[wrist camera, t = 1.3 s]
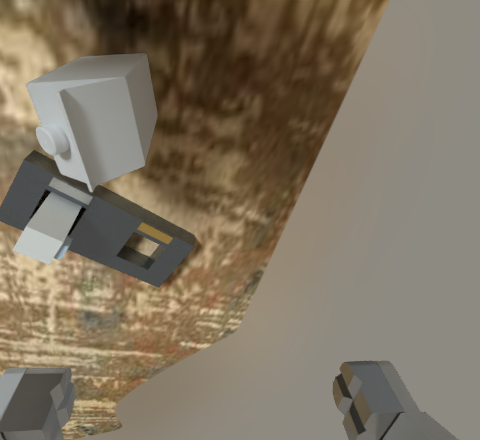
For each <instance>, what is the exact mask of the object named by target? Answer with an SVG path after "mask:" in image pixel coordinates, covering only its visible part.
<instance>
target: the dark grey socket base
mask: <svg viewBox="0 0 480 440" xmlns="http://www.w3.org/2000/svg"><path fill="white" fill-rule="evenodd" d="M47 190H49V191H51V192H53V193H55V194H57V195H59V196H61V197H63V198H65V199H67V200H69V201H71V202H73V203H75V204H77V205H79V206H82V207H84V208H85V210H84V211H83V213H82V215H81V216H80V218H79V219H78V221H77V222H76V223H73V225H72V227H71V229H70V230H69V232H68V234H67V237H69V238H72V239H73V240H72V242H71V244H70V246H69V248H68V250H70V251H73V252H75V253H77V254H80V255H82V256H85V257H87V258H89V259H92V260H94V261H97V262H99V263H101V264H104V265H106V266H109V267H111V268H113V269H116V270H118V271H120V272H123V273H125V274H128V275H130V276H132V277H135V278H137V279H140V280H142V281H144V282H147V283H149V284H151V285H154V286H156V287H160V286H161V285H162V284H163V282H164V281H165V280H166V279H167V278H168V277H169V275H170V274H171V273H172V272H173V271H174V270H175V268H176V267H177V266H178V265H179V264H180V263H181V261H182V260H183V259H184V258H185V257H186V256H187V254H188V253H189V252H190V251H191V250H192V249H193V248H194V235H193V234H191V233H189V232H188V231H186V230H184V229H182V228H180V227H178V226H176V225H174V224H173V223H171V222H169V221H167V220H165V219H163V218H161V217H159V216H157V215H156V214H154V213H152V212H150V211H148V210H146V209H144V208H142V207H140V206H139V205H137V204H135V203H133V202H131V201H129V200H127V199H125V198H123V197H122V196H120V195H118V194H116V193H114V192H112V191H110V190H108V189H106V188H105V187H103V186H101V185H97V186H96V187H95V189H94V191H93V192H90V191H89V188H88V185H87V183H84V182H81V181H79V180H76V179H73V178H70V177H68V176H65V175H62V174H61V173H60V171H59V169H58V166H57V164H56V161H54V160H52V159H50V158H48V157H46V156H44V155H42V154H40V153H39V152H37V151H35V150H33V151H32V152H31V153H30V154H29V155H28V156H27V157H26V158H25V159H24V160H23V162H22V164H21V166H20V168H19V171H18V173H17V175H16V177H15V179H14V181H13V183H12V185H11V187H10V189H9V191H8V193H7V195H6V197H5V199H4V201H3V203H2V205H1V207H0V221H1V222H3V223H6V224H8V225H11V226H13V227H15V228H18V229H20V230H23V231H24V229H25V227H26V226H27V224H28V223H29V221H30V220H31V219H32V217H33V216H34V215H35V213H36V212H37V210H38V209H39V208H40V207H39V204H40V203H41V201H42V199H43V197H44V195H45V194H46V192H47ZM133 232H135V233H137V234H139V235H141V236H143V237H145V238H147V239H149V240H151V241H153V242H155V243H158V244H160V245H159V246H158V247H157V249H156V250H155V251H154V252H153V254H152V255H151V256H150V257H148V256H146V255H144V254H141V253H139V252H137V251H135V250H133V249H131V248H128V247H126V246H124V245H125V243H126V242H127V241H128V239H129V238H130V237H131V235H132V234H133Z"/></svg>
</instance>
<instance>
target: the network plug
mask: <svg viewBox="0 0 480 440" xmlns="http://www.w3.org/2000/svg"><path fill="white" fill-rule="evenodd" d="M81 207H82V206H79V205H77V204H75V203H73V202H71V201H69V200H67V199H65V198H63V197H61V196H59V195H57V194H55V193H53V192H51V193H50V194H49V195H48V197H47V198H46V199H45V201H44V202H43V204H42V205H41V206H40V208H39V209H38V210H37V212H36V213H35V215H34V216H33V217H32V219H31V220H30V221H29V223H28V224H27V226H26V227H25V229H24V231H23V233H22V234H21V236H20V238H19V240H18V242H17V243H16V245H15V247H14V249H13V251H15V252H17V253H20V254H22V255H25V256H28V257H30V258H33V259H35V260H38V261H41V262H43V263H46V264H48V265H49V264H50V263H51V261H52V259H53V258H55V259H58V260H61V258H62V257H63V255H64V254H65V252H66V251H67V249H68V248H69V246H70V244H71V242H72V240H73V239H72V238H69V237H67V234H68V232H69V230H70V229H71V227H72V225H73V223H74V221H75V219H76V217H77V215H78V213H79V211H80V209H81Z"/></svg>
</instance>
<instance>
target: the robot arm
mask: <svg viewBox="0 0 480 440" xmlns="http://www.w3.org/2000/svg"><path fill="white" fill-rule="evenodd" d="M340 371H341V374H340V375H338V376H337V377H335V380H334V382H333V396H334V400H335V403H336V406H337V408H338V409H339V410H340V411H341V412H342V413H343V414H344V415H345V416H344V420H343V425H344V428H345V430H346V433H347V436H348V438H349V440H459V439H457V438H456V437H455V436H454V435H452V434H451V433H450V432H449V431H448V430H446V429H445V428H444V427H443V426H442V425H440V424H439V423H438V422H437V421H435V420H434V419H433V418H432V417H431V416H429V415H428V414H427V413H426V412H421V411H420V410H419V408H418V406H417V405H416V403H415V401H414V400H413V398H412V397H411V395H410V393H409V391H408V390H407V388H406V386H405V385H404V383H403V381H402V379H401V378H400V376H399V374H398V372H397V371H396V369H395V367H394V366H393V364H392V363H390V362H389V361H354V362H344V363H342V365H341V367H340ZM71 376H72V373H71V369H70V368H8V369H7V370H6V371H5V372H4V373H3V374H2V376H1V377H0V440H63V439H64V438H63V434H62V430H61V428H62V427H63V426H64V425H65V424H66V423H67V422H68V421H69V420H70V417H71V413H72V410H73V405H74V400H75V387H74V384H73V383H71V382H70V379H71Z"/></svg>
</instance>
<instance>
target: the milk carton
mask: <svg viewBox="0 0 480 440" xmlns="http://www.w3.org/2000/svg"><path fill="white" fill-rule="evenodd" d="M26 86H27V89H28V92H29V95H30V97H31V100H32V103H33V105H34V108H35V110H36V113H37V115H38V118H39V120H40V123H41V126H40V127H38V128H37V129H36V135H37V138H38V141H39V143H40V145H41V146H42V148H43V149H44V150H45V151H46V152H47V153H48V154H50V155H53V156H54V159H55V161H56V164H57V166H58V169H59V171H60V173H61V174H62V175H65V176H68V177H70V178H73V179H76V180H79V181H81V182H84V183H87V185H88V188H89V191H90V192H93V191H94V189H95V187H96V186H97V185H99V184H102V183H104V182H107V181H109V180H112V179H114V178H117V177H119V176H122V175H124V174H127V173H129V172H132V171H134V170H136V169H139V168H141V167H144V166H145V163H146V159H147V155H148V152H149V148H150V144H151V140H152V136H153V132H154V129H155V125H156V121H157V117H158V114H157V108H156V102H155V97H154V91H153V86H152V80H151V75H150V69H149V63H148V58H147V54H146V53H135V54H118V55H101V56H85V57H80V58H78V59H76V60H73V61H71V62H69V63H67V64H65V65H63V66H61V67H59V68H57V69H55V70H53V71H51V72H49V73H47V74H45V75H43V76H41V77H39V78H36V79H34V80H32V81H30V82H29V83H26Z"/></svg>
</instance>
